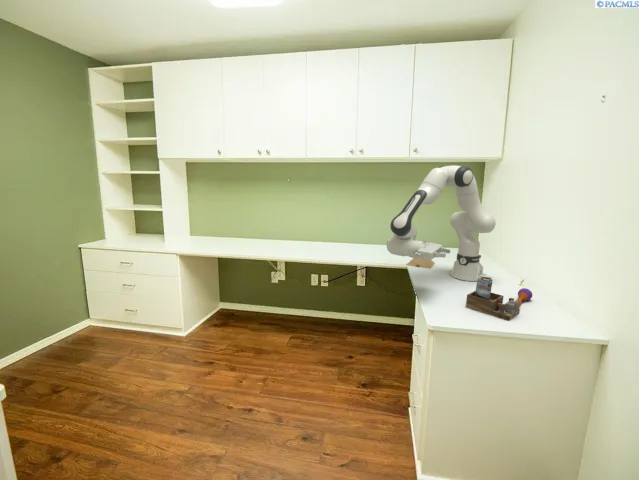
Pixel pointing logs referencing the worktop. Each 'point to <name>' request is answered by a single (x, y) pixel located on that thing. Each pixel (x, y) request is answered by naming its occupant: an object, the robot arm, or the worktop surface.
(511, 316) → the tray
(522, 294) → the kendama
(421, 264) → the model pyramid
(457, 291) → the worktop surface
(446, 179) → the robot arm
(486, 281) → the beverage can
